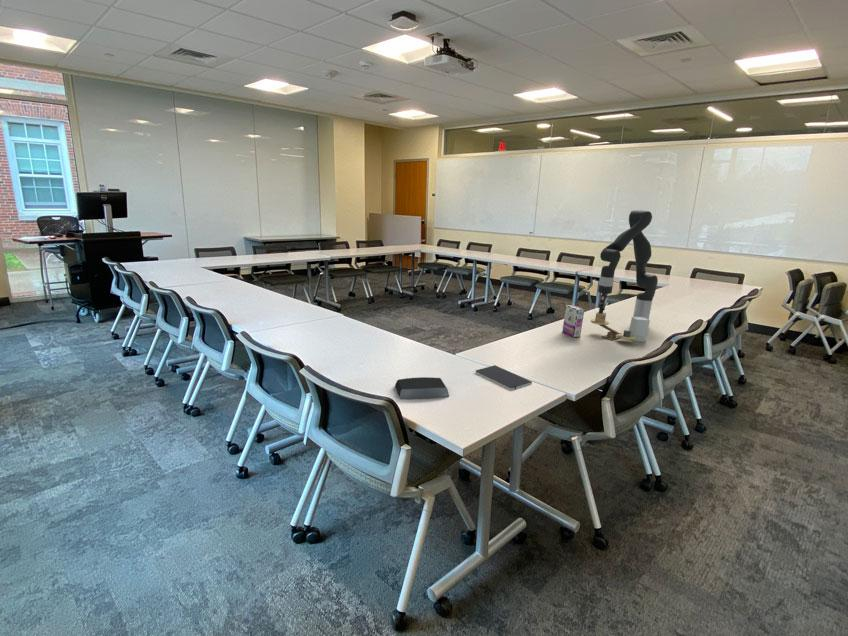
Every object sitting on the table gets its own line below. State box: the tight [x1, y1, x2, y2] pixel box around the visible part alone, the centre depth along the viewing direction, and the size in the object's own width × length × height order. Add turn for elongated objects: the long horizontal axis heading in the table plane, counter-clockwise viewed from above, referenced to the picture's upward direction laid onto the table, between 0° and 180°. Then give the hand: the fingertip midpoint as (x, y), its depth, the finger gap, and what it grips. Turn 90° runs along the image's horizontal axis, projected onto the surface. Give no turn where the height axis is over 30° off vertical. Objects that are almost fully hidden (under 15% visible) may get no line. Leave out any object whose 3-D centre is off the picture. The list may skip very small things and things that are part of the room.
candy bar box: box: [561, 304, 585, 338], centre depth 258 cm, size 11×5×16 cm, turn 17°
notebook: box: [475, 364, 533, 391], centre depth 193 cm, size 13×2×21 cm
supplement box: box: [628, 316, 650, 343], centre depth 256 cm, size 7×7×13 cm
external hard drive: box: [394, 376, 450, 400], centre depth 175 cm, size 13×19×4 cm
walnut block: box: [594, 311, 607, 323], centre depth 262 cm, size 5×5×5 cm
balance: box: [590, 318, 636, 341], centre depth 257 cm, size 28×10×7 cm, turn 36°
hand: (601, 311), depth 261 cm, fingers open, 8 cm apart
